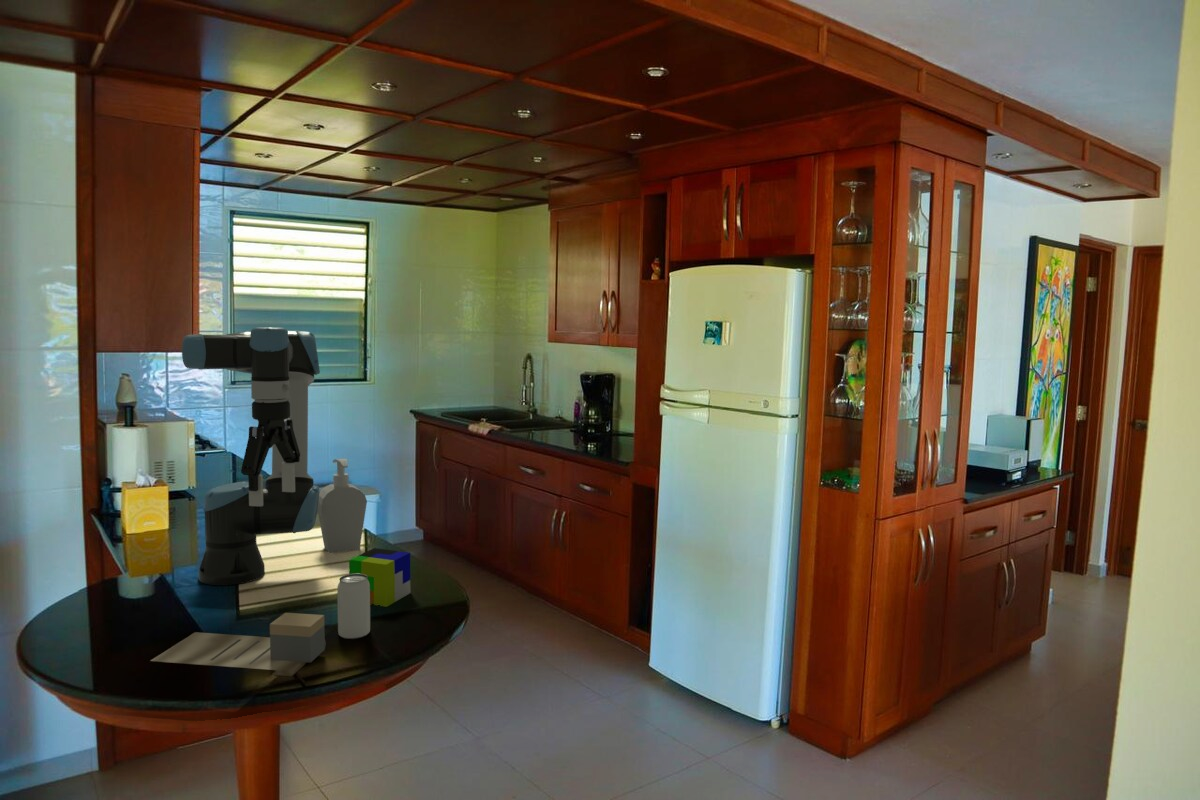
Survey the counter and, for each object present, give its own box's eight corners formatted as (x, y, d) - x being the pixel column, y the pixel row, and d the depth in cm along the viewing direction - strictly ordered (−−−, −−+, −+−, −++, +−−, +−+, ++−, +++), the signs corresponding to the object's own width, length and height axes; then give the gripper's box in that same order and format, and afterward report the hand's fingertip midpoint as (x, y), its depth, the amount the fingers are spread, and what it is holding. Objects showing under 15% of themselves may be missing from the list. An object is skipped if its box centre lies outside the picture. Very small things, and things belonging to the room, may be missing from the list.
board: (150, 665, 153) (149, 660, 153) (195, 636, 167) (195, 632, 167) (291, 676, 150) (291, 671, 150) (325, 645, 164) (325, 641, 163)
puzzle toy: (410, 593, 195) (410, 552, 194) (386, 607, 186) (386, 564, 185) (374, 587, 199) (374, 548, 198) (349, 601, 189) (349, 559, 188)
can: (342, 627, 173) (341, 573, 172) (372, 627, 174) (372, 572, 172) (334, 639, 167) (333, 583, 165) (366, 639, 167) (366, 582, 166)
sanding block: (270, 659, 154) (269, 624, 154) (286, 646, 160) (285, 612, 160) (310, 662, 153) (310, 626, 153) (324, 649, 159) (324, 615, 159)
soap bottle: (323, 556, 222) (322, 463, 220) (316, 547, 231) (314, 457, 228) (369, 551, 228) (368, 460, 226) (360, 542, 237) (359, 454, 234)
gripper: (256, 407, 160) (258, 513, 162) (314, 395, 184) (316, 487, 186) (220, 406, 160) (223, 511, 163) (283, 394, 185) (285, 485, 187)
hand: (273, 498), depth 175 cm, fingers open, 13 cm apart
